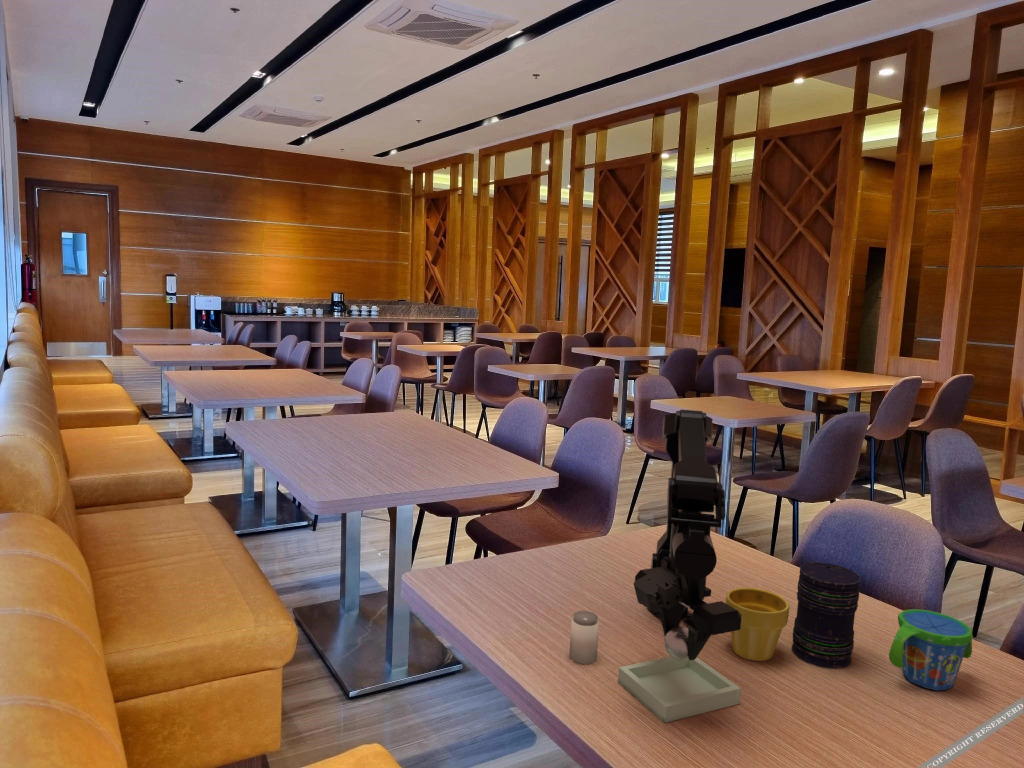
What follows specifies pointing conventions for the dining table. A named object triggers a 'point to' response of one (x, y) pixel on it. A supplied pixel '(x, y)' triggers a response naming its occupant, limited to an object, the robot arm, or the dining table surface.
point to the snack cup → (930, 648)
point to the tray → (678, 687)
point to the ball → (677, 643)
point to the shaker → (584, 637)
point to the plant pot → (757, 622)
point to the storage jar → (825, 615)
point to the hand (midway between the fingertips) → (680, 651)
